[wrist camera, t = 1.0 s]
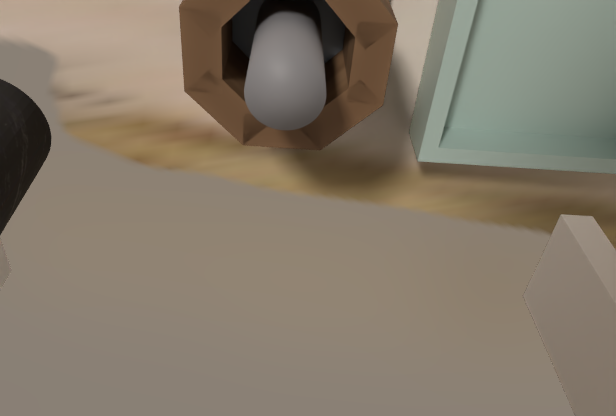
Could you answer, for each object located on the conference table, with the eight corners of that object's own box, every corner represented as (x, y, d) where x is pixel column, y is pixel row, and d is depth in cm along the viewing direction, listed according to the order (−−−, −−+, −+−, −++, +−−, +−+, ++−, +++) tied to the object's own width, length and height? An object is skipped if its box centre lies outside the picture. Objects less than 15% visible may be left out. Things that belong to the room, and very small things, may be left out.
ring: (193, -88, 21) (174, -65, 18) (394, -70, 22) (410, -44, 19) (201, 98, 26) (187, 141, 23) (365, 109, 27) (373, 153, 24)
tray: (472, -150, 25) (491, -141, 23) (759, -121, 26) (810, -110, 23) (408, 132, 34) (417, 161, 32) (621, 146, 35) (647, 176, 33)
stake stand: (190, -138, 25) (115, -82, 15) (402, -118, 26) (467, -52, 16) (199, 65, 31) (150, 201, 21) (370, 77, 32) (402, 216, 22)
